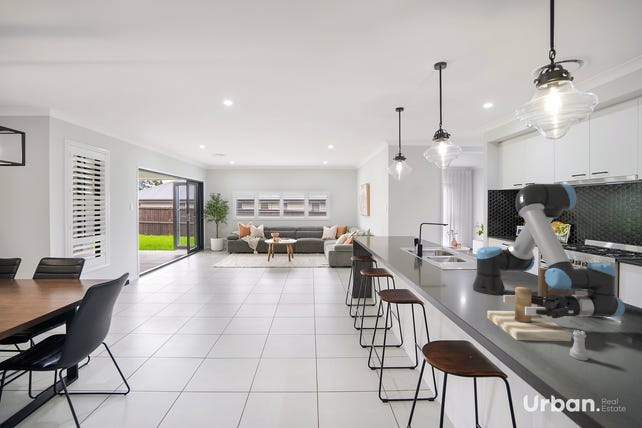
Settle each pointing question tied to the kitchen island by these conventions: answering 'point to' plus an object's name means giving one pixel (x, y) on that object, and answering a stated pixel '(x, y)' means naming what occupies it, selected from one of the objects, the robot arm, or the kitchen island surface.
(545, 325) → the birch board
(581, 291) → the architectural model
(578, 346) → the rook chess piece
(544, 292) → the wooden post with wedge
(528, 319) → the oak leg
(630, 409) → the kitchen island surface
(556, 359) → the kitchen island surface
